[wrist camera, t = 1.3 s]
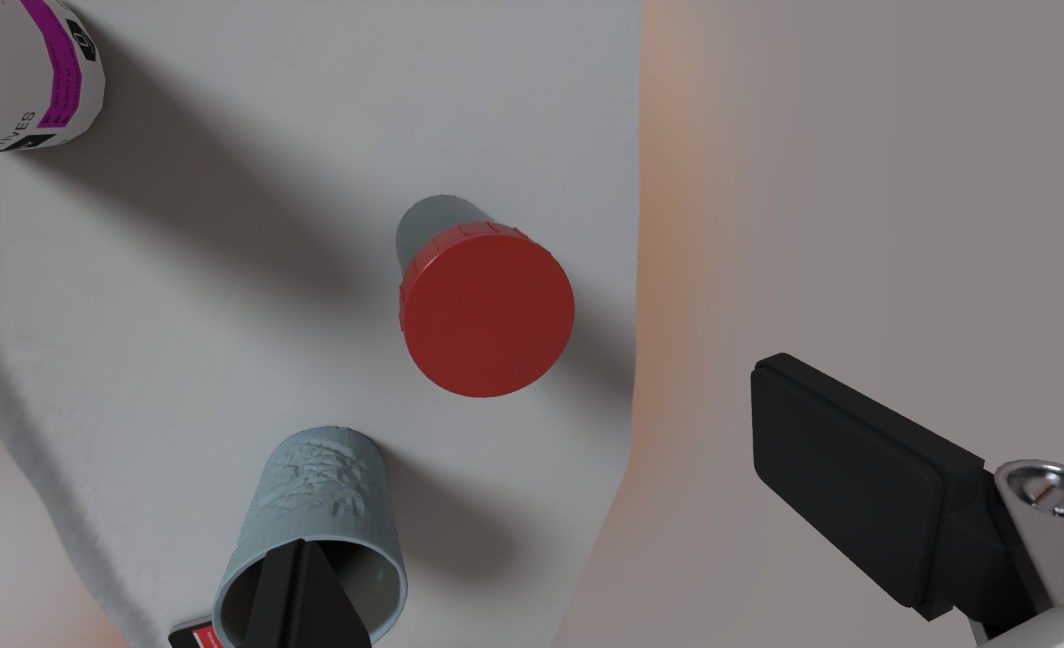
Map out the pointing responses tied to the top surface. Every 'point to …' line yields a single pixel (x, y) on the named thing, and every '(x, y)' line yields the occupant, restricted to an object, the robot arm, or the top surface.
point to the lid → (485, 309)
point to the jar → (432, 223)
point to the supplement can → (46, 75)
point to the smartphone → (194, 634)
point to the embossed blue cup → (320, 529)
